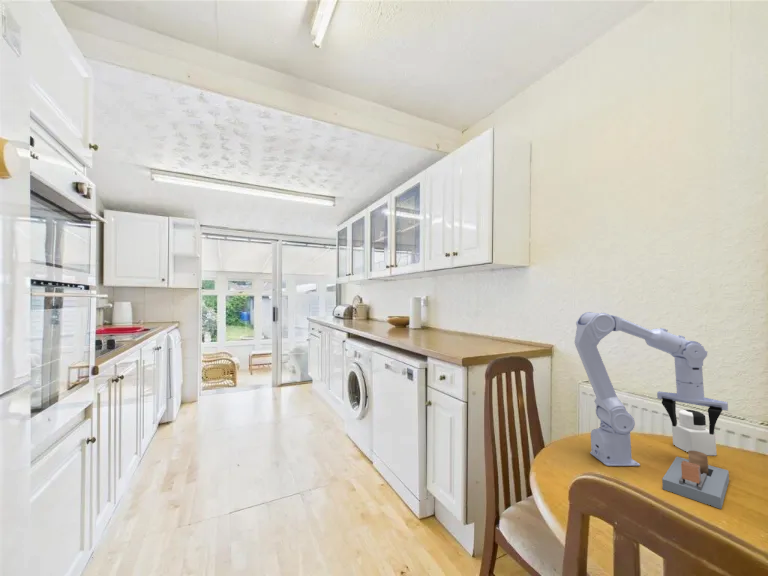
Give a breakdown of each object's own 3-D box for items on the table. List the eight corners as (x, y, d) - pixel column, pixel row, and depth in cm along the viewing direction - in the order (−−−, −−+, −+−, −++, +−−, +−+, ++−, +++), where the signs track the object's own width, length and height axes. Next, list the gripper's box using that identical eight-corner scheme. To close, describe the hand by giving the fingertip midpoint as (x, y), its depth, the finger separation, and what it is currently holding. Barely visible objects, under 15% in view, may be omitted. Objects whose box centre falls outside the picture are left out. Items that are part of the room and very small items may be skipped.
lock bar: (699, 488, 74) (698, 468, 74) (682, 482, 77) (681, 463, 77) (704, 477, 79) (702, 459, 79) (687, 472, 81) (686, 454, 81)
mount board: (721, 509, 70) (720, 494, 71) (662, 489, 78) (661, 475, 78) (729, 480, 82) (728, 467, 82) (677, 465, 89) (676, 453, 90)
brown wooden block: (698, 482, 81) (696, 457, 81) (686, 475, 84) (684, 450, 85) (713, 482, 81) (711, 457, 81) (699, 475, 84) (698, 450, 85)
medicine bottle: (696, 445, 101) (693, 407, 102) (717, 456, 94) (714, 415, 95) (672, 444, 102) (670, 407, 103) (691, 455, 95) (688, 415, 96)
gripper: (727, 383, 88) (731, 433, 87) (659, 375, 99) (662, 419, 98) (724, 388, 83) (728, 440, 83) (654, 378, 95) (657, 424, 94)
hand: (692, 429), depth 90 cm, fingers open, 7 cm apart
